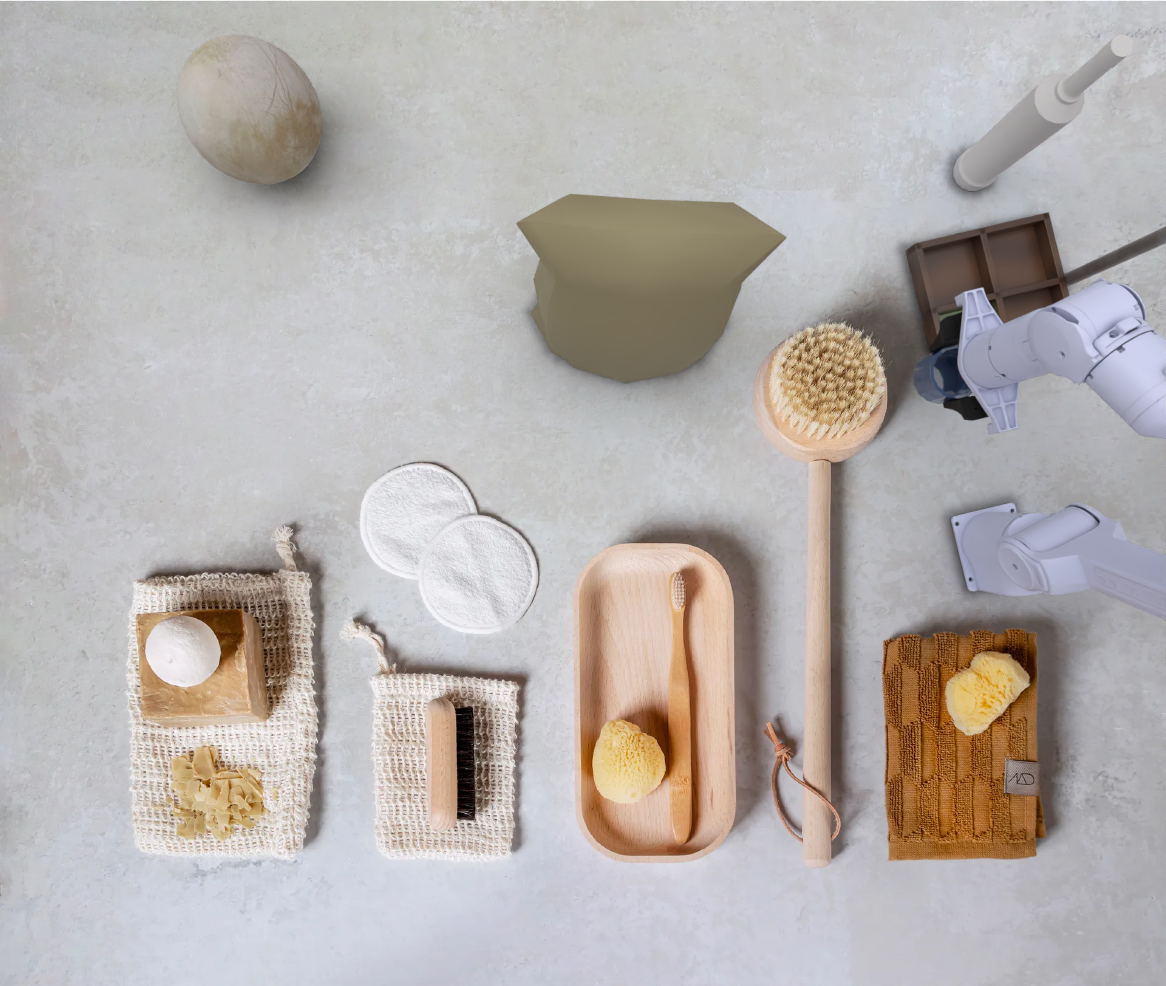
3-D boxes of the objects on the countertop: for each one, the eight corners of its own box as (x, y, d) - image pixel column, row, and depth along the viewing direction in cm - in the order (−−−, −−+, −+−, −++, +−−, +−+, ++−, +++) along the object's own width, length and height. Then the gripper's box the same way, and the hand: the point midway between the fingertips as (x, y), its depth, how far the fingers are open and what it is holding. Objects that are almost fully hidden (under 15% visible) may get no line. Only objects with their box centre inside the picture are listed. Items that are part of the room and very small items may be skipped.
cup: (967, 397, 83) (989, 391, 79) (917, 409, 83) (936, 403, 79) (955, 348, 83) (976, 339, 79) (905, 360, 83) (923, 352, 79)
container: (727, 257, 90) (801, 133, 60) (720, 392, 90) (792, 336, 60) (534, 246, 90) (512, 118, 60) (527, 382, 90) (501, 321, 60)
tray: (1083, 347, 90) (1258, 293, 67) (937, 381, 90) (1061, 339, 67) (1051, 216, 90) (1213, 117, 67) (905, 250, 90) (1017, 163, 67)
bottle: (1000, 166, 90) (1161, 37, 65) (978, 200, 90) (1131, 85, 65) (965, 143, 90) (1112, 6, 65) (943, 178, 90) (1082, 54, 65)
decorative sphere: (266, 61, 90) (203, -28, 75) (364, 132, 90) (321, 57, 75) (194, 158, 90) (117, 89, 75) (292, 229, 90) (235, 174, 75)
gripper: (1078, 415, 68) (995, 430, 81) (1040, 265, 68) (963, 305, 81) (1005, 433, 68) (934, 445, 81) (968, 283, 68) (903, 319, 81)
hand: (944, 376), depth 81 cm, fingers closed on cup, 6 cm apart
